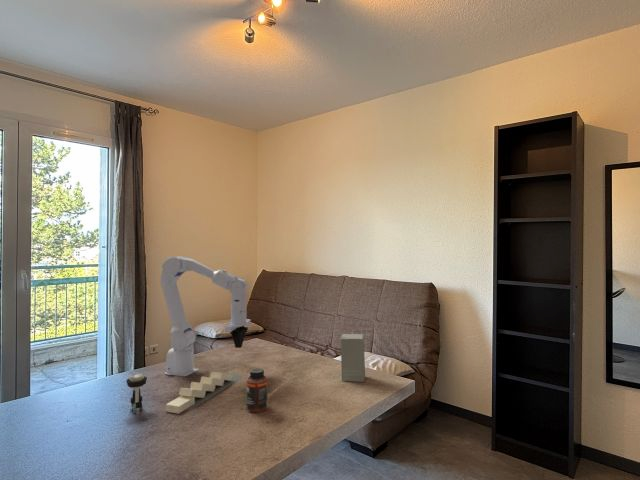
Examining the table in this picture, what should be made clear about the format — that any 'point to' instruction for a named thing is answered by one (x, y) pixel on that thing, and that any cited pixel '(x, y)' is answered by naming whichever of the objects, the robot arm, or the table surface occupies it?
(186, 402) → the domino
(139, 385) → the push button
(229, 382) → the mat
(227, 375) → the domino
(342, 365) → the skincare box
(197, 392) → the domino
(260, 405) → the supplement bottle
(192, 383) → the domino
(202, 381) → the domino
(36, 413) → the table surface
